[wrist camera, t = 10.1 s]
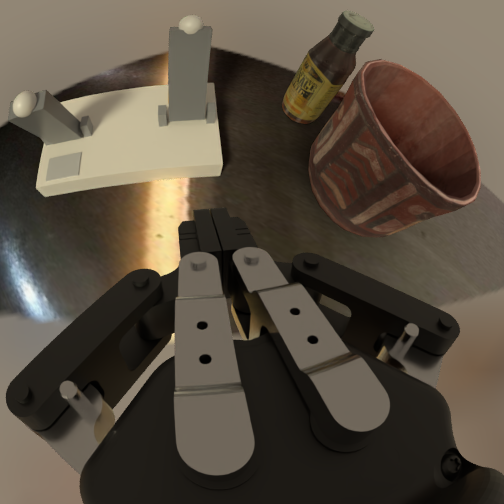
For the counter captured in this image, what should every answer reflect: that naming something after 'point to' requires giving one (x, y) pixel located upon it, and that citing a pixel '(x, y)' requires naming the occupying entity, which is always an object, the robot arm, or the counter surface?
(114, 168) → the switch unit
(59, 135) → the grey marked lever
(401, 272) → the counter surface
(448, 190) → the pottery
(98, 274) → the counter surface
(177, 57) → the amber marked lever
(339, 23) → the sauce bottle
